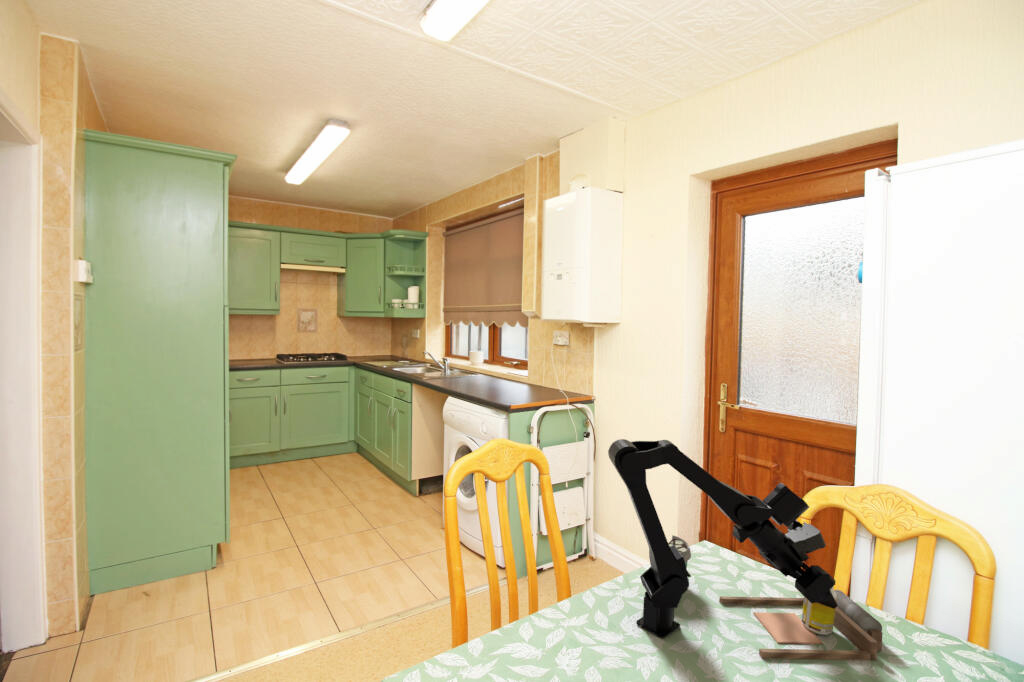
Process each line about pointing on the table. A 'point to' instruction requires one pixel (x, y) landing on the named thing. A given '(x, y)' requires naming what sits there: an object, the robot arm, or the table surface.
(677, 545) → the food container
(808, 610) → the supplement bottle
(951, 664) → the table surface
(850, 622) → the frame
